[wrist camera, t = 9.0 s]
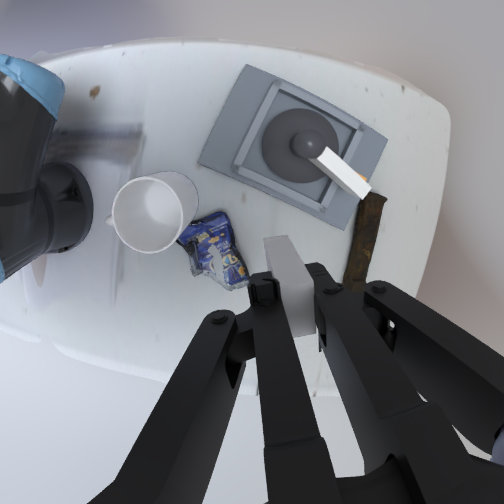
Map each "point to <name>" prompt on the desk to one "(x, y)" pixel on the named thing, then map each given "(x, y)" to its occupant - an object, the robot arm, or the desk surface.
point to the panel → (251, 135)
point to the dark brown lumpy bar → (364, 241)
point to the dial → (308, 151)
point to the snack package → (222, 236)
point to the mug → (153, 211)
